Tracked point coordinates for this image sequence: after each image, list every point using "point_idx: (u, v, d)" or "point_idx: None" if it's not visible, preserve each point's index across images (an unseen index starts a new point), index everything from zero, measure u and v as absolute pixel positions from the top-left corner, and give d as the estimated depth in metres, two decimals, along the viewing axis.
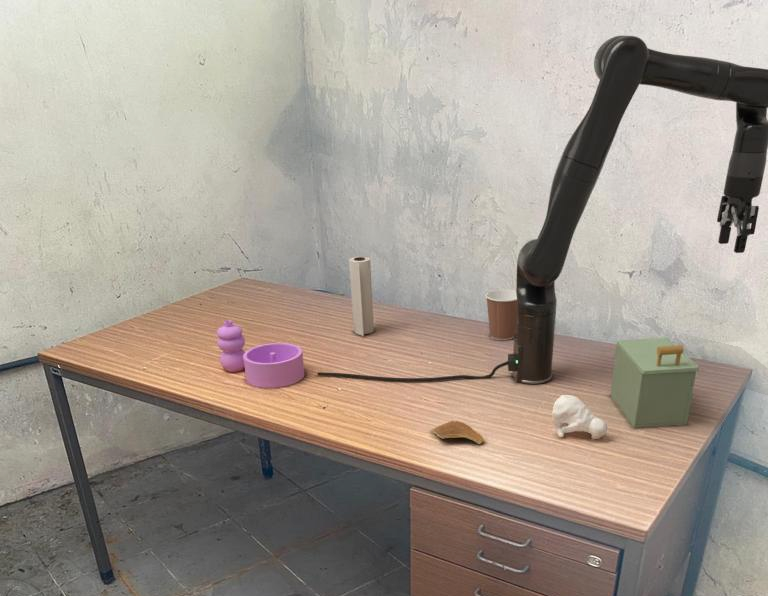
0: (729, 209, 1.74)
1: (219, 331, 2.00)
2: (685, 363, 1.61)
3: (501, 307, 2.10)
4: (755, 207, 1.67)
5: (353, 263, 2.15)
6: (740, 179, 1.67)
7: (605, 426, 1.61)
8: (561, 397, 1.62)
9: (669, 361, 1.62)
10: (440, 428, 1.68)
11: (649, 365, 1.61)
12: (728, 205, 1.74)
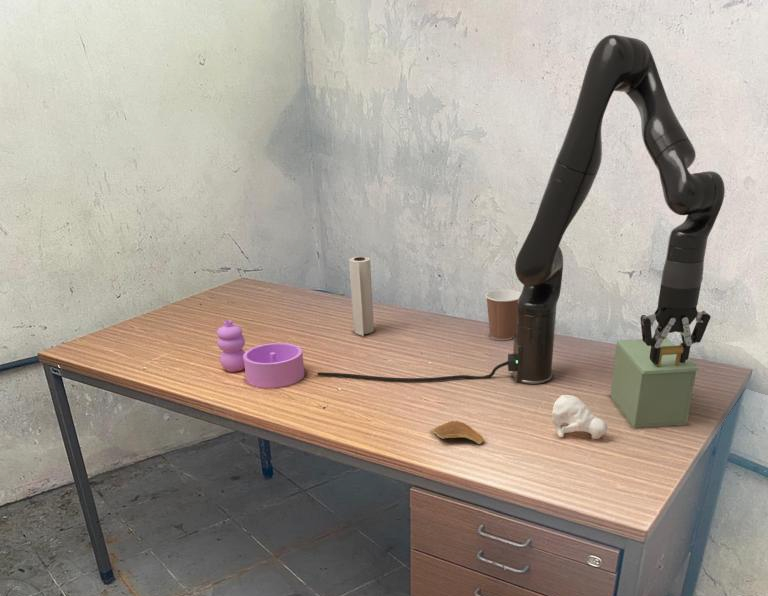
0: None
1: (219, 331, 2.00)
2: (685, 363, 1.61)
3: (501, 307, 2.10)
4: (643, 319, 1.55)
5: (353, 263, 2.15)
6: None
7: (605, 426, 1.61)
8: (561, 397, 1.62)
9: (669, 361, 1.62)
10: (440, 428, 1.68)
11: (649, 365, 1.61)
12: None
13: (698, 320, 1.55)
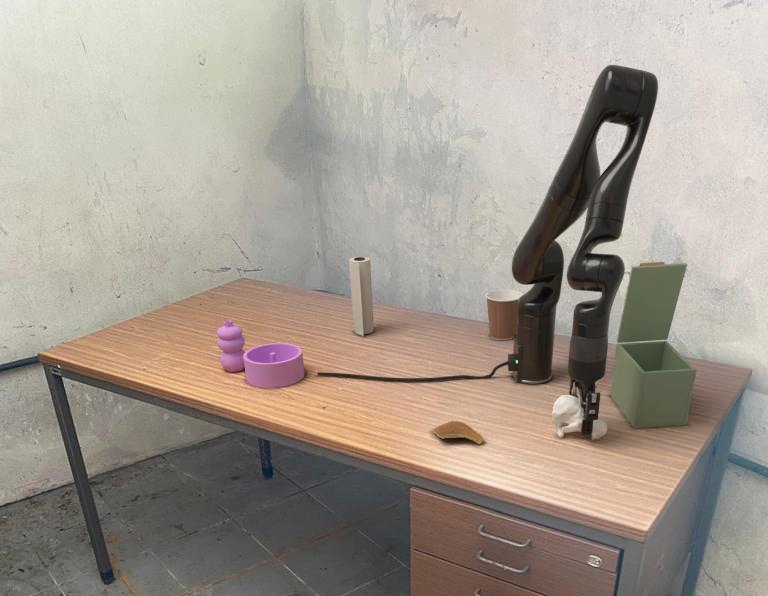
0: None
1: (219, 331, 2.00)
2: None
3: (501, 307, 2.10)
4: None
5: (353, 263, 2.15)
6: None
7: (605, 426, 1.61)
8: (561, 397, 1.62)
9: None
10: (440, 428, 1.68)
11: None
12: None
13: None
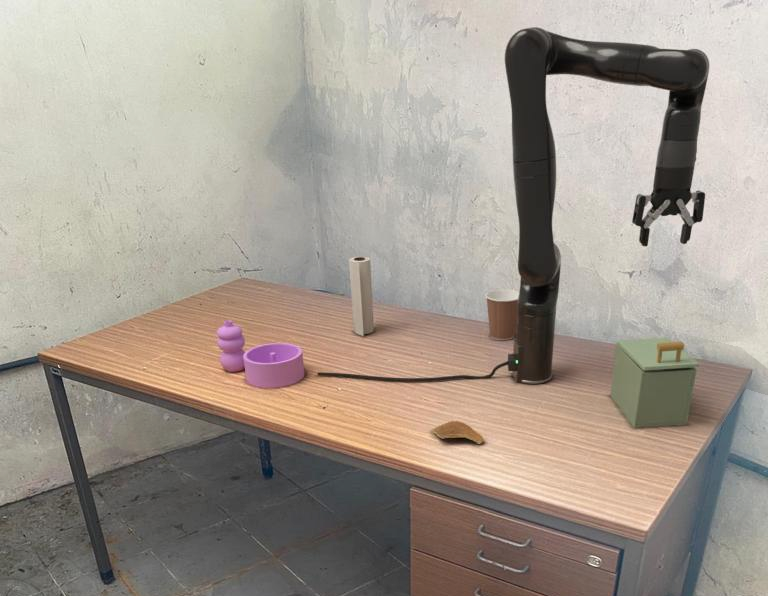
0: None
1: (219, 331, 2.00)
2: (685, 360, 1.61)
3: (501, 307, 2.10)
4: (640, 196, 1.59)
5: (353, 263, 2.15)
6: None
7: None
8: None
9: (669, 358, 1.62)
10: (440, 428, 1.68)
11: (649, 362, 1.61)
12: None
13: (694, 200, 1.60)
